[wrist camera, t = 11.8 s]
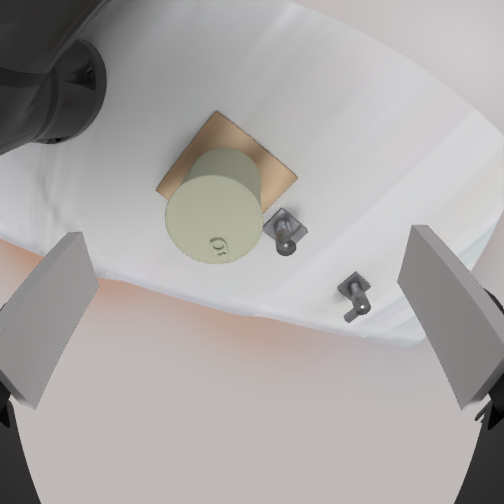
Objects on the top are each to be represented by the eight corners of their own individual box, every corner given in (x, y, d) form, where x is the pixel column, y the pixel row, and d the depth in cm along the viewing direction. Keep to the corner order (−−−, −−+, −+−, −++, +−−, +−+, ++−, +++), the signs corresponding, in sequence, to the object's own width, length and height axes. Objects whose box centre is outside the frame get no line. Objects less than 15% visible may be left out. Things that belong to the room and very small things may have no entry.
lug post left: (261, 228, 41) (262, 249, 37) (288, 201, 39) (292, 219, 35) (283, 244, 43) (286, 266, 38) (309, 219, 41) (316, 239, 36)
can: (200, 222, 40) (182, 275, 30) (179, 157, 35) (149, 190, 25) (267, 208, 39) (272, 258, 29) (252, 139, 34) (251, 165, 24)
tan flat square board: (157, 188, 38) (155, 190, 38) (217, 110, 33) (216, 111, 32) (232, 243, 43) (232, 246, 42) (297, 176, 38) (297, 178, 37)
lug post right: (331, 292, 47) (338, 315, 42) (355, 271, 45) (366, 294, 40) (346, 303, 49) (354, 327, 44) (369, 284, 46) (380, 307, 42)
